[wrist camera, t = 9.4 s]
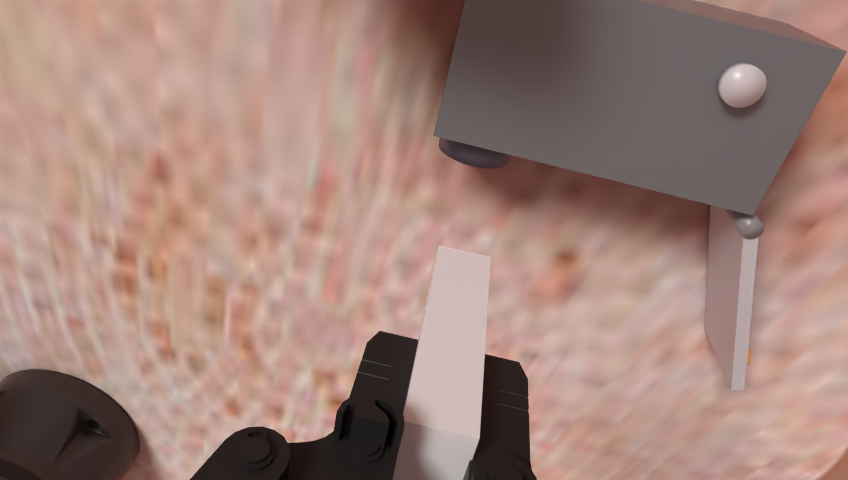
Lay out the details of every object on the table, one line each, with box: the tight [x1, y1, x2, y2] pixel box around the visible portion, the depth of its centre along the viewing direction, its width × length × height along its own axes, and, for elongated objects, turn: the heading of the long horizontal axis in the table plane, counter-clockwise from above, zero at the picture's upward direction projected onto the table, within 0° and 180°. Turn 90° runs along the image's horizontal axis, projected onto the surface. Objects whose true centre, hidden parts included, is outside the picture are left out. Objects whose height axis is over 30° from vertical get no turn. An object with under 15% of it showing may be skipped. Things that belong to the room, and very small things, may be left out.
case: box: [434, 0, 846, 215], centre depth 33 cm, size 18×11×8 cm, turn 78°
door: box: [705, 205, 764, 391], centre depth 39 cm, size 13×2×7 cm, turn 10°
